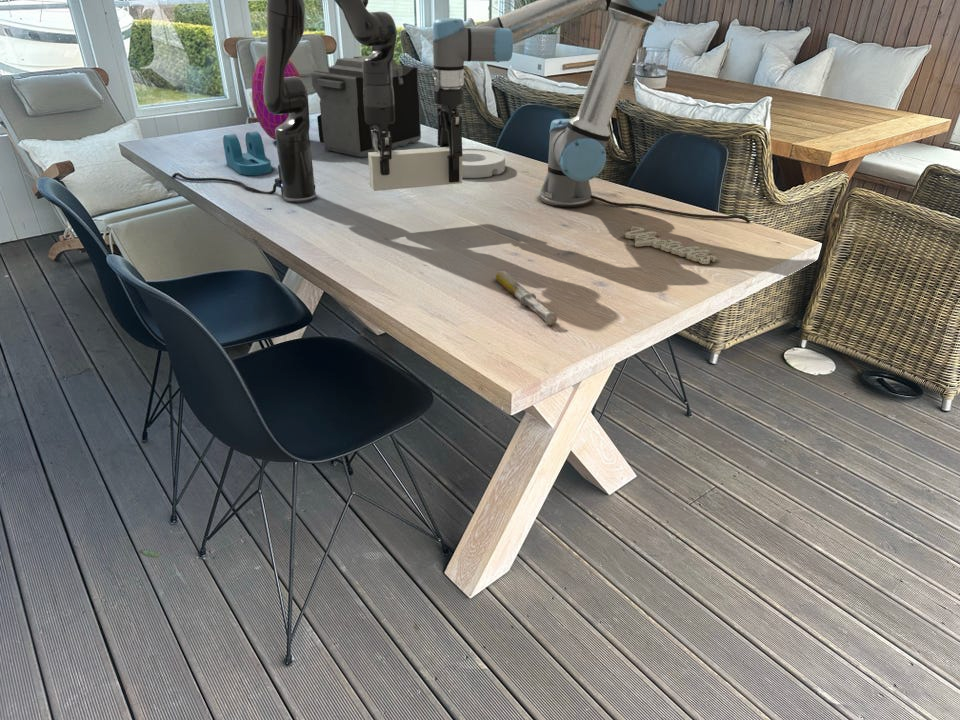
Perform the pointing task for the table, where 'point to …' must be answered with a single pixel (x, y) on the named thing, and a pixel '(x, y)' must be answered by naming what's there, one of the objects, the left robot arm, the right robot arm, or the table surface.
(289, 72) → the decorative egg
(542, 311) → the syringe
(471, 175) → the ashtray
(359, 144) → the tool box
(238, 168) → the camera mount
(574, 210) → the table surface
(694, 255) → the decorative sign
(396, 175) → the bar
